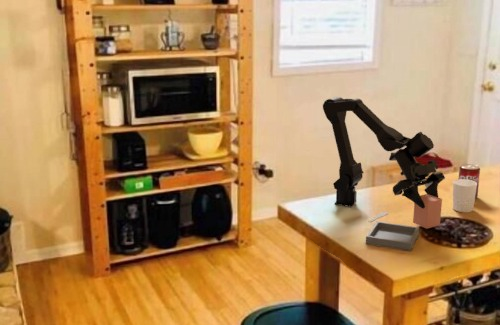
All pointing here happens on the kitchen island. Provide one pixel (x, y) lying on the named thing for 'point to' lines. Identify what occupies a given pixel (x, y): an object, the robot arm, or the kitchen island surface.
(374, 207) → the kitchen island surface
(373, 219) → the butter knife
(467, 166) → the soda can
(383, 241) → the charcoal tray
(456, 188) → the white cup
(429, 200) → the terracotta block
